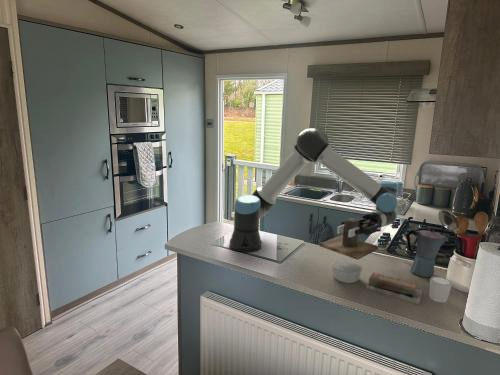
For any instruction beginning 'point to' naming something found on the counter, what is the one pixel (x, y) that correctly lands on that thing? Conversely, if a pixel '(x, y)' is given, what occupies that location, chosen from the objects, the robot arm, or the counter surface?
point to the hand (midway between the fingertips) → (343, 232)
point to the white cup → (439, 289)
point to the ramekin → (346, 271)
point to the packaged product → (394, 288)
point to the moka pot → (425, 251)
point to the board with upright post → (349, 242)
